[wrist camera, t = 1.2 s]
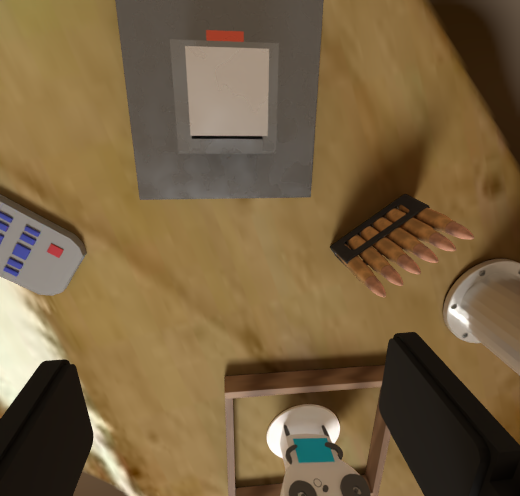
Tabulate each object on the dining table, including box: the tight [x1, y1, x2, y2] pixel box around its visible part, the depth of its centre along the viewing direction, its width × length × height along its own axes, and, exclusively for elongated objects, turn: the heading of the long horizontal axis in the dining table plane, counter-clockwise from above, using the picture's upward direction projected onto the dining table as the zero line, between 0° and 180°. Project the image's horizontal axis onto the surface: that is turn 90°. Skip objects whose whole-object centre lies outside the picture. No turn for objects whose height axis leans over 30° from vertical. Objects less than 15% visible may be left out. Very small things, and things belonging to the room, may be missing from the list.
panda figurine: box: [267, 404, 371, 496], centre depth 44 cm, size 12×11×15 cm
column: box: [185, 46, 269, 136], centre depth 24 cm, size 4×4×16 cm
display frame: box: [225, 365, 391, 496], centre depth 50 cm, size 24×24×3 cm
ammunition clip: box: [330, 194, 474, 297], centre depth 34 cm, size 11×2×12 cm, turn 126°
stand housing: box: [115, 0, 323, 200], centre depth 28 cm, size 18×18×12 cm
